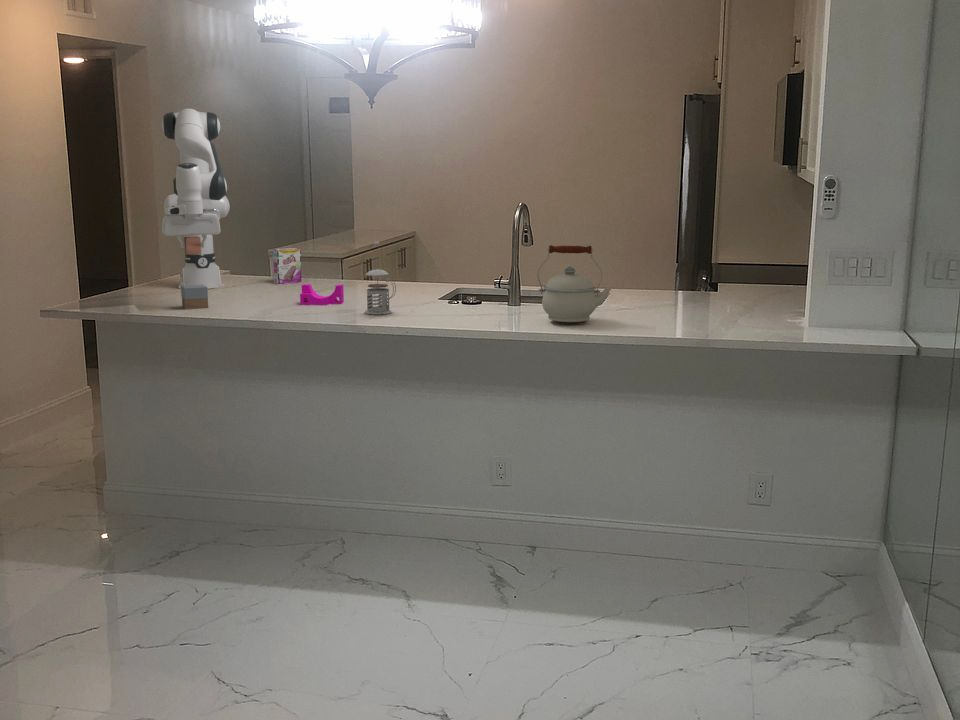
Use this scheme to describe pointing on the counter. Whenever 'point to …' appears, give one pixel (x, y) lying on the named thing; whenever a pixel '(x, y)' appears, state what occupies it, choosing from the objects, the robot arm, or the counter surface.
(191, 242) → the reddish brown cube
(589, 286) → the kettle
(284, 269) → the candy bar box
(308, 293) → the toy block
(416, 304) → the counter surface
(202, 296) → the tower middle
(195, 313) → the counter surface
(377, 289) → the french press
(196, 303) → the tower base
